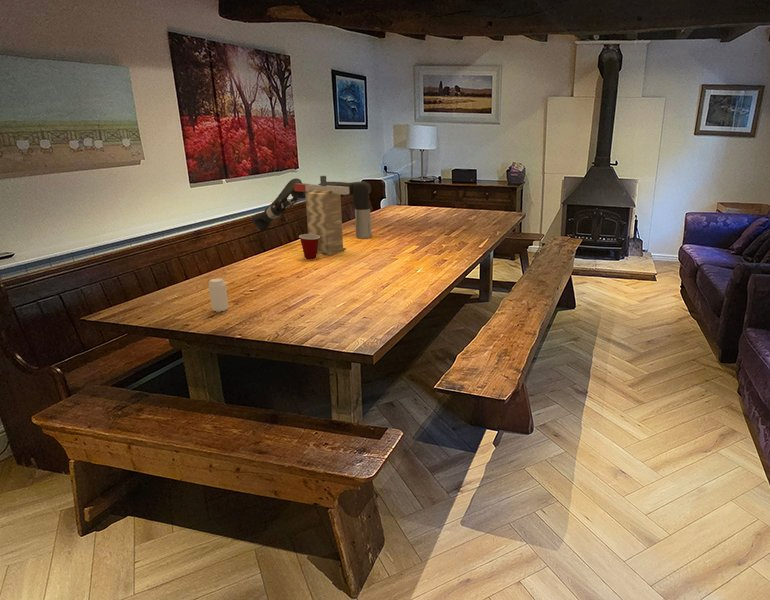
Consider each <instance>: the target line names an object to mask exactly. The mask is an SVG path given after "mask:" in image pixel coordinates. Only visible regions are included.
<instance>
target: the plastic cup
mask: <svg viewBox="0 0 770 600" xmlns="http://www.w3.org/2000/svg"><path fill="white" fill-rule="evenodd" d="M298 237H299V239H300V240H299V241H300V243H301V248H302V252H303V256H304V259H305V258H306V259H305V260H315V259H317V256H318V254H317V248H318V241H319V238H320V236H319V235H315V234H308V233H304V234H300V235H299V236H298Z"/></svg>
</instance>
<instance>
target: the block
mask: <svg viewBox="0 0 770 600" xmlns="http://www.w3.org/2000/svg"><path fill="white" fill-rule="evenodd" d="M319 177H320V179H319V180H320V181H319V182H320V183H321V185H318V184H313V183H303V182H302V183H297V184H294V190H295V191H301V192H309V190H320V191H330V193H331V194H343V195H345V196H347V195H346V194H349V187H343V186H328V185H327V183H326V182H327V175H319Z"/></svg>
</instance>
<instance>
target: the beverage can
mask: <svg viewBox="0 0 770 600" xmlns="http://www.w3.org/2000/svg"><path fill="white" fill-rule="evenodd" d="M226 284H227V283H226V282H225V280H224V278H221V277H218V278H217V277H216V278H212V279H210V280H209V283H208V292H209V299H210V300H209V301H210V306H211V307H210V308H211V310H212V311H214V312H215V311H216V313H221V311H223V312H225V311H227V310H228V309H229V302H228V301H229V298H228V294H227V293H228V292H227V285H226Z"/></svg>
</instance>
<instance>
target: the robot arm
mask: <svg viewBox="0 0 770 600" xmlns="http://www.w3.org/2000/svg"><path fill="white" fill-rule="evenodd" d="M297 183H303V182H302V180H301V179H299V178H298V177H297V178H296V177H295V178H292V179H291V180H289V182H287V184H286V185H285V186H284V187H283V189H282V191H281V192H280V193H279V194H278V196H277V197H276V198H275V199H274V200H273V202H271V204H269V205H268V206H267V207H266V208H265V209H264V211H262V212H259V213H255V214H254V215H253V216H252V218H251V223H252V224H254V226H256V228H257V229H258V230H259V231H261V232H265V231H266V230H267V229H268V228H269V226H270V225H271V224H272V221H274V220H276V219H277V218H279V217H281V215H283V214H284V213H285V212H286V208H288V207H292V206H294V205H295V204H297V202H298V200H299V199H306V196H305V193H308V192H301V191H295V190H294V184H297ZM326 183H327V185H328V186H343V187H349V194H346V195H343V194H341V197H344V196H350V195H351V196H352V199H353V204H354V216H355V217H354V219H355V220H354V222H355V223H354V224H355V237H357V239H368V238H371V237H372V236H373V235H372V219H371V204H370V201H369V195H370V193H371V192H372V186H371V184H370V182H367V181H365V180H361V181H353V182H345V181H326ZM317 185H321V182H320V183H319V184H317ZM290 196H291V197H292V198H289V197H290Z"/></svg>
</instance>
